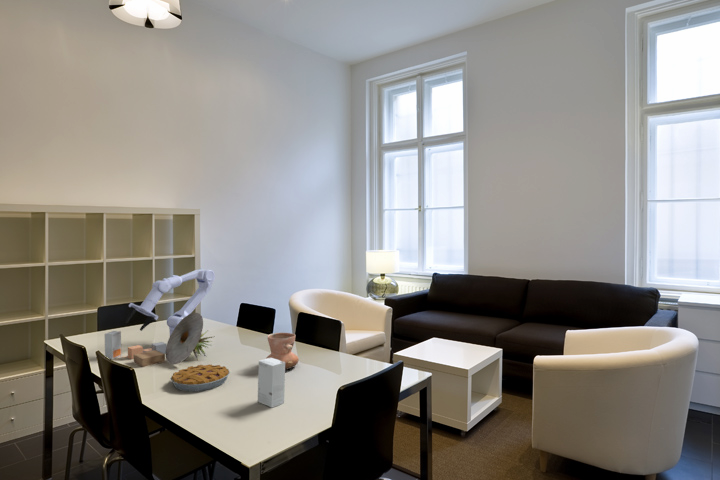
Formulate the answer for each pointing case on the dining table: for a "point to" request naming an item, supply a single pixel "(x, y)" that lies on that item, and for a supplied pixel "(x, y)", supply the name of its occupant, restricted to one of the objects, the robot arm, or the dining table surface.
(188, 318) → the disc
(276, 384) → the skincare box
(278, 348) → the ceramic jug
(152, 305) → the robot arm
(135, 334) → the dining table surface
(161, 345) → the slate grey cube
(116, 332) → the skincare box
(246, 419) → the dining table surface
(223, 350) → the dining table surface
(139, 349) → the terracotta cube
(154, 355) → the walnut block
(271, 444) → the dining table surface
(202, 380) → the pie
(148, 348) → the tile
